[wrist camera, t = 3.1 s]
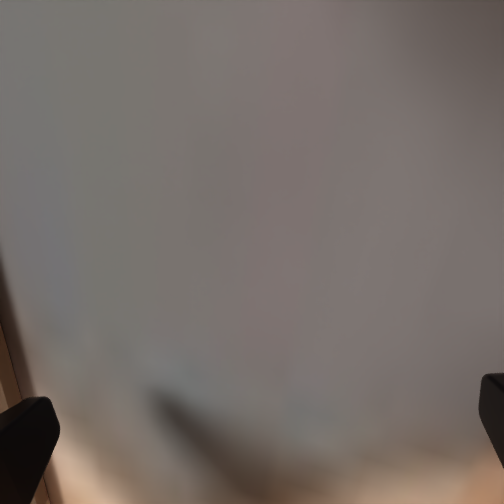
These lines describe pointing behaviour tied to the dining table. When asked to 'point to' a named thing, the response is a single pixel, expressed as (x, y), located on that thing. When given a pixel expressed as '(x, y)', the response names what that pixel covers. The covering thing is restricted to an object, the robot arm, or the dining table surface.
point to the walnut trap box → (14, 403)
